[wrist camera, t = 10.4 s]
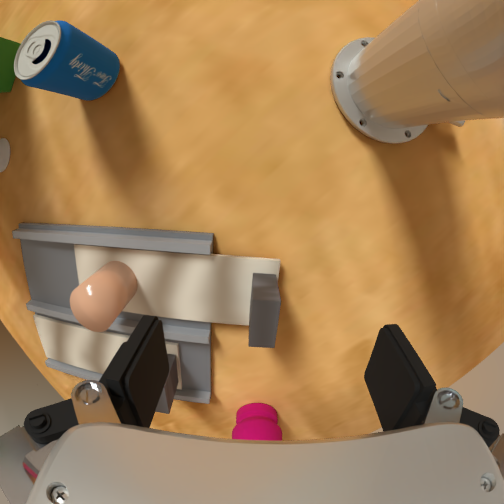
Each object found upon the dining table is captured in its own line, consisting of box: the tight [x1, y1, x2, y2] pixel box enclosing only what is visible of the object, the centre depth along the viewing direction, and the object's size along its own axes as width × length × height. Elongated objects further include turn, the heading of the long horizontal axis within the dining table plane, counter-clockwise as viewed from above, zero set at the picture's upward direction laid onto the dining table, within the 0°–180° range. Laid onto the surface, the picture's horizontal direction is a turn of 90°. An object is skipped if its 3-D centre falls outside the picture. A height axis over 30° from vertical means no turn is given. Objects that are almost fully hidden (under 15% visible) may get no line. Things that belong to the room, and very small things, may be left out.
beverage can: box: [14, 21, 120, 100], centre depth 18 cm, size 6×6×12 cm
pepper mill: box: [232, 403, 282, 441], centre depth 29 cm, size 7×7×20 cm
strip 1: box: [33, 314, 182, 414], centre depth 31 cm, size 24×8×7 cm, turn 85°
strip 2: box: [74, 244, 281, 348], centre depth 27 cm, size 24×8×7 cm, turn 86°
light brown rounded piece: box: [70, 261, 138, 332], centre depth 27 cm, size 5×5×7 cm
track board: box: [12, 223, 214, 404], centre depth 32 cm, size 28×24×2 cm
